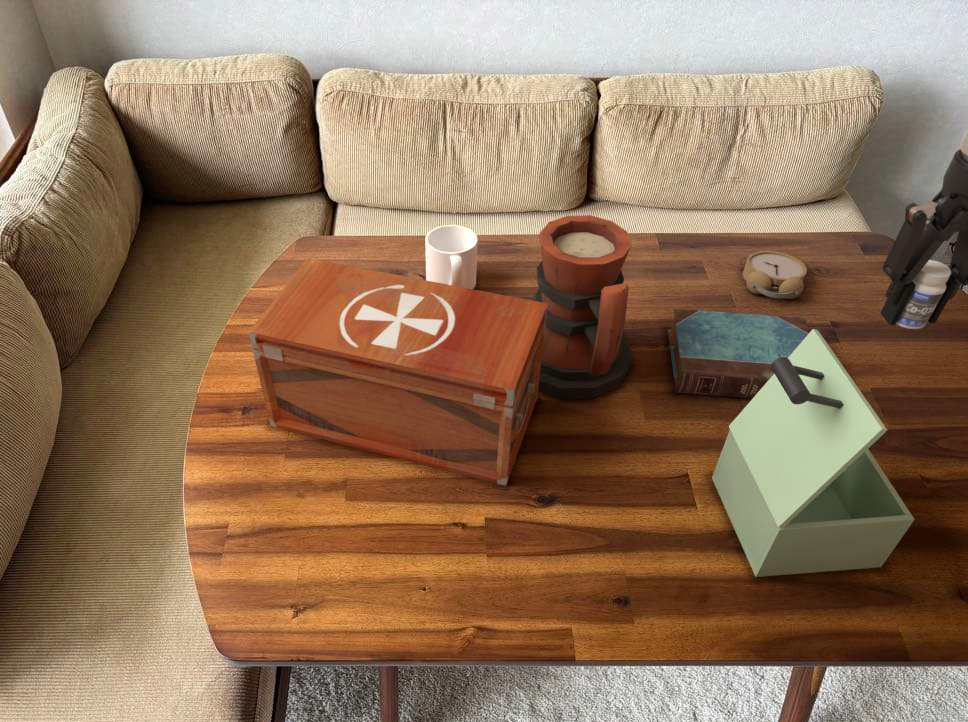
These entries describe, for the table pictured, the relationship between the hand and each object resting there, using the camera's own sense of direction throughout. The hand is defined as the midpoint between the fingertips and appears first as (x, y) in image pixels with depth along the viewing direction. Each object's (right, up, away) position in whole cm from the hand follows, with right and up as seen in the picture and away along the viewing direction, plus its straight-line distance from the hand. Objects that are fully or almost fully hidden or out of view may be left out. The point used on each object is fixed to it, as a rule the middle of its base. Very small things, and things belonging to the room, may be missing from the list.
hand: (907, 317), depth 104 cm
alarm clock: (+3, +12, +47) cm, 49 cm away
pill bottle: (0, 0, 0) cm, 1 cm away
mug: (-60, +12, +49) cm, 79 cm away
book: (-11, -5, +31) cm, 33 cm away
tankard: (-40, -5, +32) cm, 51 cm away
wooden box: (-69, -13, +24) cm, 74 cm away
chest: (-13, -29, +7) cm, 32 cm away
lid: (-18, -15, -7) cm, 25 cm away
